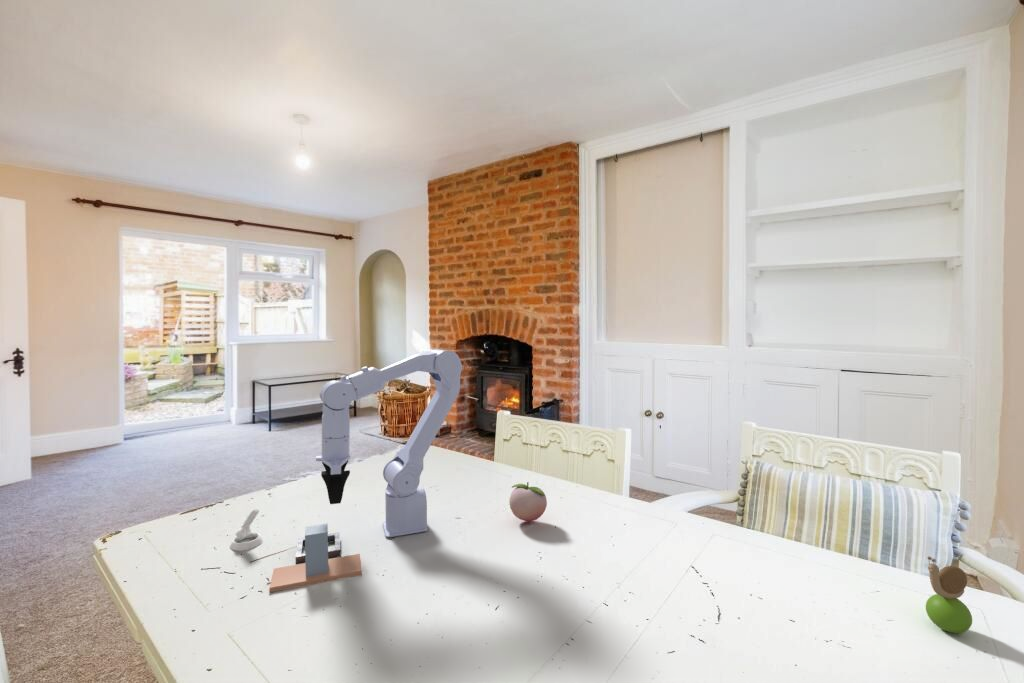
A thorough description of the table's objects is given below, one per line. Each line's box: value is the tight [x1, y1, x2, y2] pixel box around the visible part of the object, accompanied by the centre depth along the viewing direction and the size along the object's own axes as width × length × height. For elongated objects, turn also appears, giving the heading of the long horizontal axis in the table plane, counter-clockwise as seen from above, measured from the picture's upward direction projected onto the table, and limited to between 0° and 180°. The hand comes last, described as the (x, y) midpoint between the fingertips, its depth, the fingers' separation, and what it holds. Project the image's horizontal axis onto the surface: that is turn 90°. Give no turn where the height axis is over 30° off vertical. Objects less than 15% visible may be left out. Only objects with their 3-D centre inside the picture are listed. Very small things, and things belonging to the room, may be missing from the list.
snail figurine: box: [925, 555, 973, 634], centre depth 74 cm, size 5×6×12 cm
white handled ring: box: [229, 507, 264, 551], centre depth 102 cm, size 6×10×6 cm
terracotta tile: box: [269, 553, 363, 593], centre depth 91 cm, size 16×7×1 cm, turn 111°
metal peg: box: [304, 523, 329, 577], centre depth 90 cm, size 4×4×8 cm
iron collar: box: [295, 532, 341, 565], centre depth 99 cm, size 8×8×2 cm
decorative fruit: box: [509, 481, 548, 523], centre depth 113 cm, size 9×8×10 cm
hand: (335, 496), depth 102 cm, fingers open, 7 cm apart
